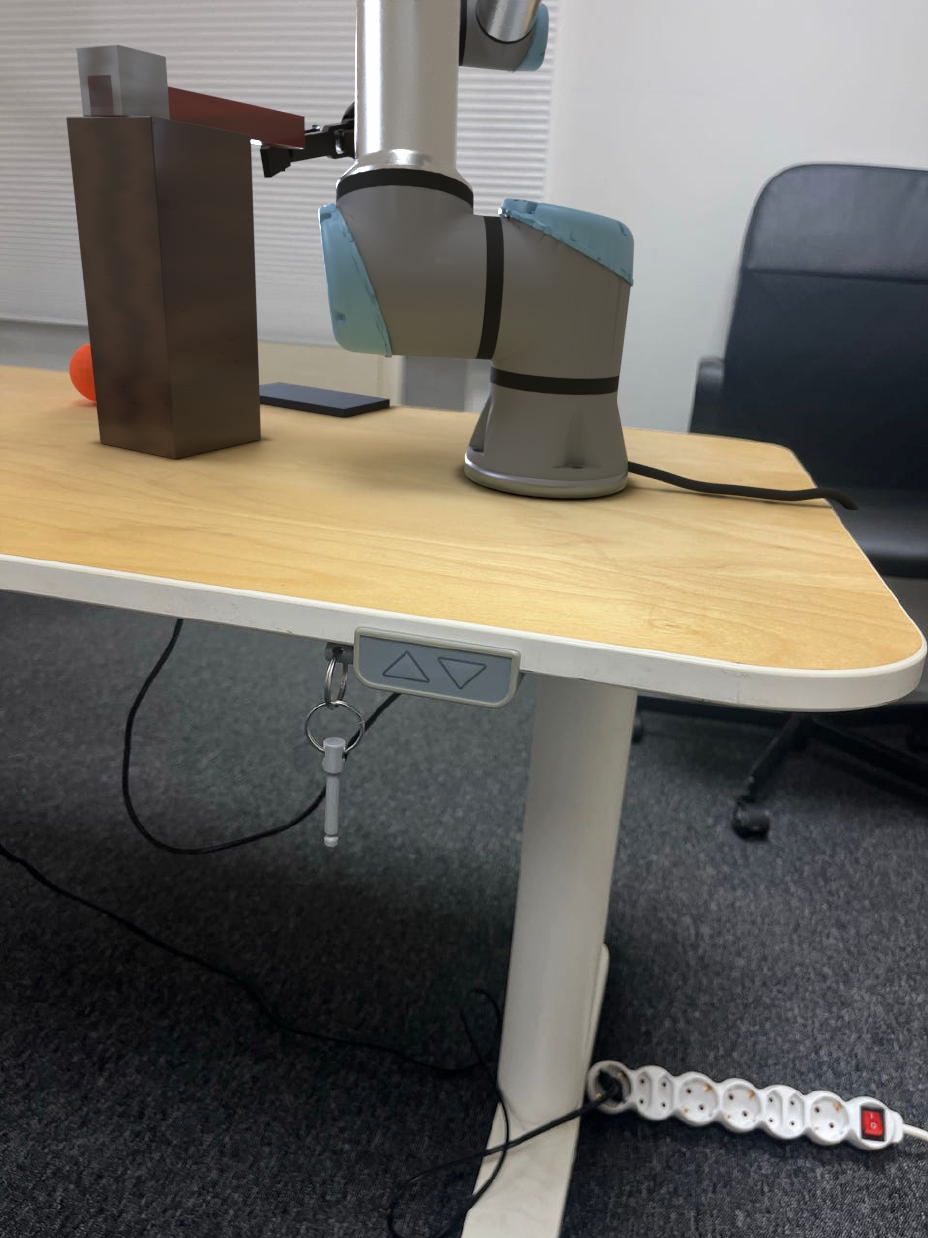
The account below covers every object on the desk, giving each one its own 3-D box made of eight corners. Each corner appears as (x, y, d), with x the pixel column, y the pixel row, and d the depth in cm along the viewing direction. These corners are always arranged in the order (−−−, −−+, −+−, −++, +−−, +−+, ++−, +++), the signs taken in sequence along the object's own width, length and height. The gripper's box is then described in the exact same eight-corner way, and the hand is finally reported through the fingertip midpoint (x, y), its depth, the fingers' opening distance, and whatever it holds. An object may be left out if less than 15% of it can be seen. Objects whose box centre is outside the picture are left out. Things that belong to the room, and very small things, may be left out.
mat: (389, 406, 114) (390, 398, 114) (344, 417, 106) (344, 408, 105) (279, 389, 122) (279, 381, 121) (228, 397, 113) (228, 389, 113)
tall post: (261, 439, 92) (251, 134, 81) (175, 459, 83) (150, 115, 72) (189, 425, 97) (170, 133, 86) (100, 443, 87) (65, 116, 76)
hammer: (312, 148, 92) (312, 93, 90) (123, 115, 73) (117, 43, 71) (276, 148, 94) (274, 94, 92) (82, 116, 75) (75, 46, 73)
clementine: (154, 403, 107) (149, 341, 105) (113, 411, 101) (107, 346, 99) (102, 395, 110) (96, 335, 107) (59, 403, 104) (51, 339, 101)
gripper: (275, 96, 108) (206, 124, 92) (477, 89, 104) (443, 117, 88) (286, 164, 113) (222, 202, 96) (479, 160, 109) (448, 199, 92)
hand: (327, 162), depth 92 cm, fingers open, 13 cm apart
